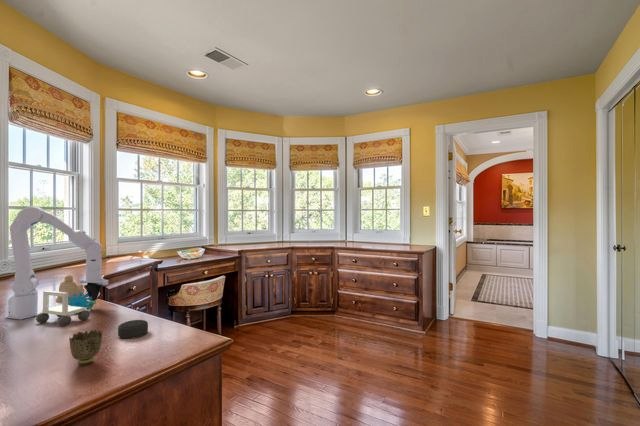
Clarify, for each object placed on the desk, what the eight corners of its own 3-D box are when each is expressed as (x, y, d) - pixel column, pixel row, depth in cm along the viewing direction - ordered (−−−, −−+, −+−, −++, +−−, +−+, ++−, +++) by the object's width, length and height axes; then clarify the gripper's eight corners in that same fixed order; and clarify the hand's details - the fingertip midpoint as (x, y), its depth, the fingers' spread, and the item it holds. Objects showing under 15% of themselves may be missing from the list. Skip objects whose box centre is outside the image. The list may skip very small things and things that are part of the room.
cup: (80, 357, 92) (80, 329, 92) (107, 357, 93) (108, 328, 93) (61, 370, 84) (62, 339, 85) (91, 369, 85) (92, 338, 85)
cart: (35, 323, 121) (36, 292, 121) (65, 315, 131) (65, 286, 131) (61, 327, 117) (61, 294, 117) (89, 318, 127) (90, 288, 127)
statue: (44, 281, 147) (59, 271, 157) (50, 308, 151) (64, 297, 160) (73, 281, 149) (86, 271, 158) (78, 308, 153) (90, 296, 162)
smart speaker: (113, 341, 105) (114, 328, 105) (122, 331, 113) (122, 320, 113) (144, 338, 107) (144, 326, 107) (150, 329, 116) (150, 318, 116)
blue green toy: (59, 312, 129) (67, 291, 136) (60, 320, 133) (67, 298, 140) (93, 312, 135) (98, 291, 141) (92, 319, 138) (97, 299, 145)
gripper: (114, 268, 144) (114, 299, 143) (90, 267, 148) (89, 297, 148) (99, 271, 137) (99, 303, 137) (74, 269, 141) (74, 300, 141)
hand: (93, 300), depth 142 cm, fingers closed
